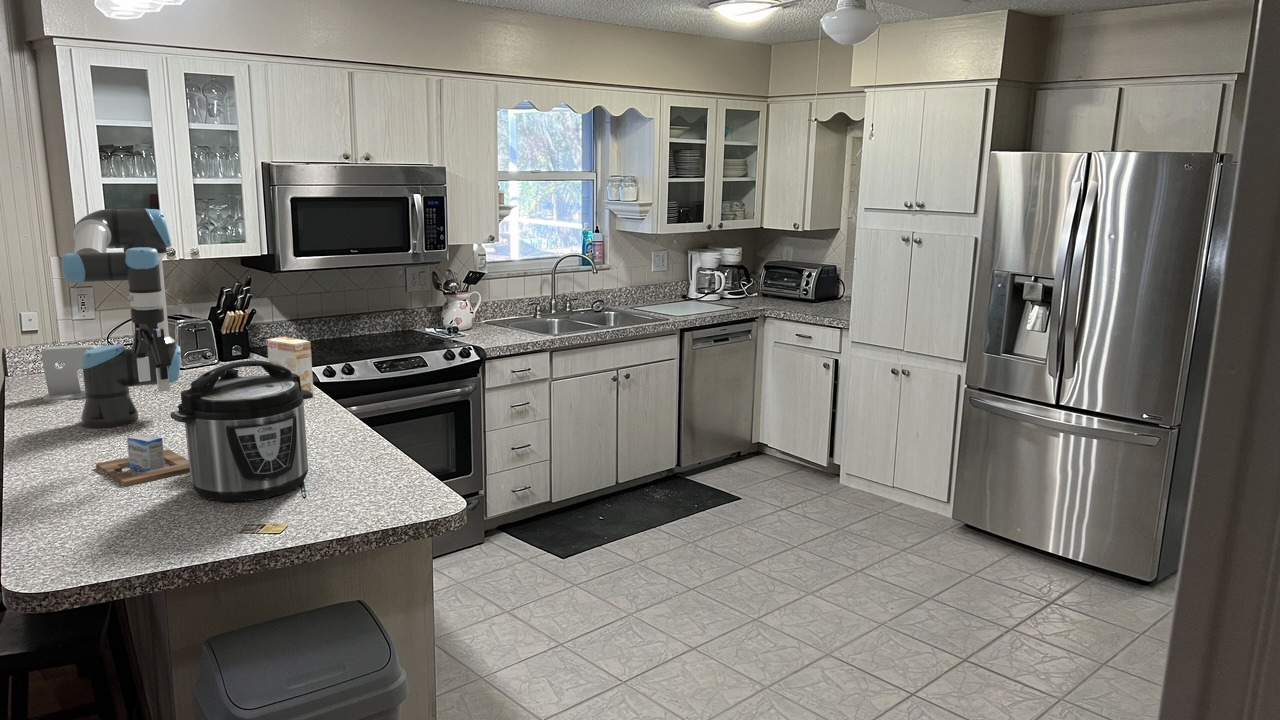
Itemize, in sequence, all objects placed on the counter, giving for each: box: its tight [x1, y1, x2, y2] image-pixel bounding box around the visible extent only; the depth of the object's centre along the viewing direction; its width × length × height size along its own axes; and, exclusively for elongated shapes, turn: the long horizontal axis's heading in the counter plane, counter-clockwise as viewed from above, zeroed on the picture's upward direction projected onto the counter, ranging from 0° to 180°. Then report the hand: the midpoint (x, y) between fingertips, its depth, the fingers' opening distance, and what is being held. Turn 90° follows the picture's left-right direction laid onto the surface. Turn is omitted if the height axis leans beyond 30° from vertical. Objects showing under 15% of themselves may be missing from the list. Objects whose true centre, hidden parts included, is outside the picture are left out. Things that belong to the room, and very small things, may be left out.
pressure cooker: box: [170, 360, 314, 502], centre depth 222 cm, size 30×28×32 cm
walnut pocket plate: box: [95, 448, 190, 487], centre depth 237 cm, size 20×18×1 cm
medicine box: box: [126, 433, 166, 472], centre depth 236 cm, size 8×4×9 cm, turn 67°
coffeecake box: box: [266, 336, 315, 397], centre depth 314 cm, size 15×7×20 cm, turn 58°
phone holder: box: [40, 344, 98, 402], centre depth 308 cm, size 17×10×18 cm, turn 116°
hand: (154, 386), depth 242 cm, fingers open, 13 cm apart
